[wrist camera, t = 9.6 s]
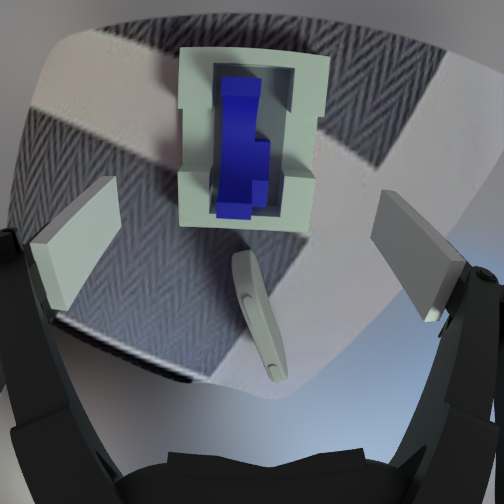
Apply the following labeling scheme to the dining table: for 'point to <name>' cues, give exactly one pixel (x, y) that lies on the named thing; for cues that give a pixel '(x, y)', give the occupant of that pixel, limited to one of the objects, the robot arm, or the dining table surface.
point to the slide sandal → (259, 314)
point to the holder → (267, 127)
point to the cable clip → (242, 151)
